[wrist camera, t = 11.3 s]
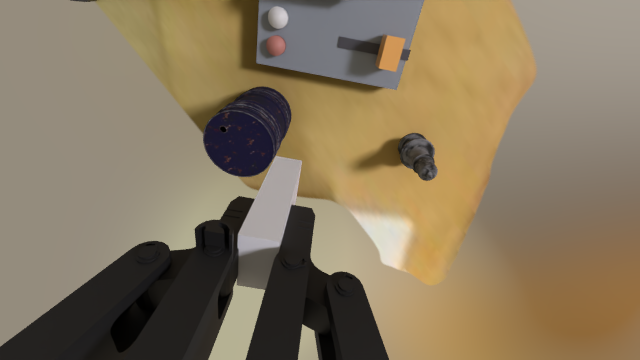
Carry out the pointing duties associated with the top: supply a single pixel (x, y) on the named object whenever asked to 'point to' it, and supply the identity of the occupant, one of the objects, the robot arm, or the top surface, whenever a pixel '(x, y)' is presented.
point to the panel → (335, 36)
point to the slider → (389, 52)
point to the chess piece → (418, 155)
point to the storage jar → (248, 132)
